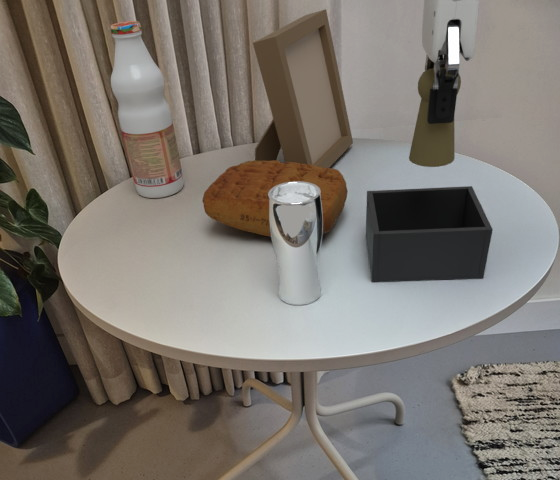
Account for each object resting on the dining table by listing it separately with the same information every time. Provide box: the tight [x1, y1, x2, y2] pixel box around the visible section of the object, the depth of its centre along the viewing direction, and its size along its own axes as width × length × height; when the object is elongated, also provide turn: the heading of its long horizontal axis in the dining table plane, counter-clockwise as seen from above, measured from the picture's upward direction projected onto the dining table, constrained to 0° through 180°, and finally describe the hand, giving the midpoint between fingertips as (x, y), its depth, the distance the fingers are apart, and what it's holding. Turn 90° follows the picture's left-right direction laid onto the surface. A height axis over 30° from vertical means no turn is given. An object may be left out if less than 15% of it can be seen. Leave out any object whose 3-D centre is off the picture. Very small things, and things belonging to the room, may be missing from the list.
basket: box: [365, 185, 494, 283], centre depth 84 cm, size 16×14×8 cm
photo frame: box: [252, 8, 354, 168], centre depth 108 cm, size 15×22×25 cm
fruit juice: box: [110, 20, 185, 199], centre depth 103 cm, size 9×9×28 cm
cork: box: [408, 67, 462, 168], centre depth 74 cm, size 6×6×11 cm
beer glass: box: [268, 181, 324, 306], centre depth 76 cm, size 7×7×15 cm
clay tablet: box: [202, 160, 348, 238], centre depth 95 cm, size 22×17×8 cm
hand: (436, 113), depth 74 cm, fingers closed on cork, 5 cm apart
